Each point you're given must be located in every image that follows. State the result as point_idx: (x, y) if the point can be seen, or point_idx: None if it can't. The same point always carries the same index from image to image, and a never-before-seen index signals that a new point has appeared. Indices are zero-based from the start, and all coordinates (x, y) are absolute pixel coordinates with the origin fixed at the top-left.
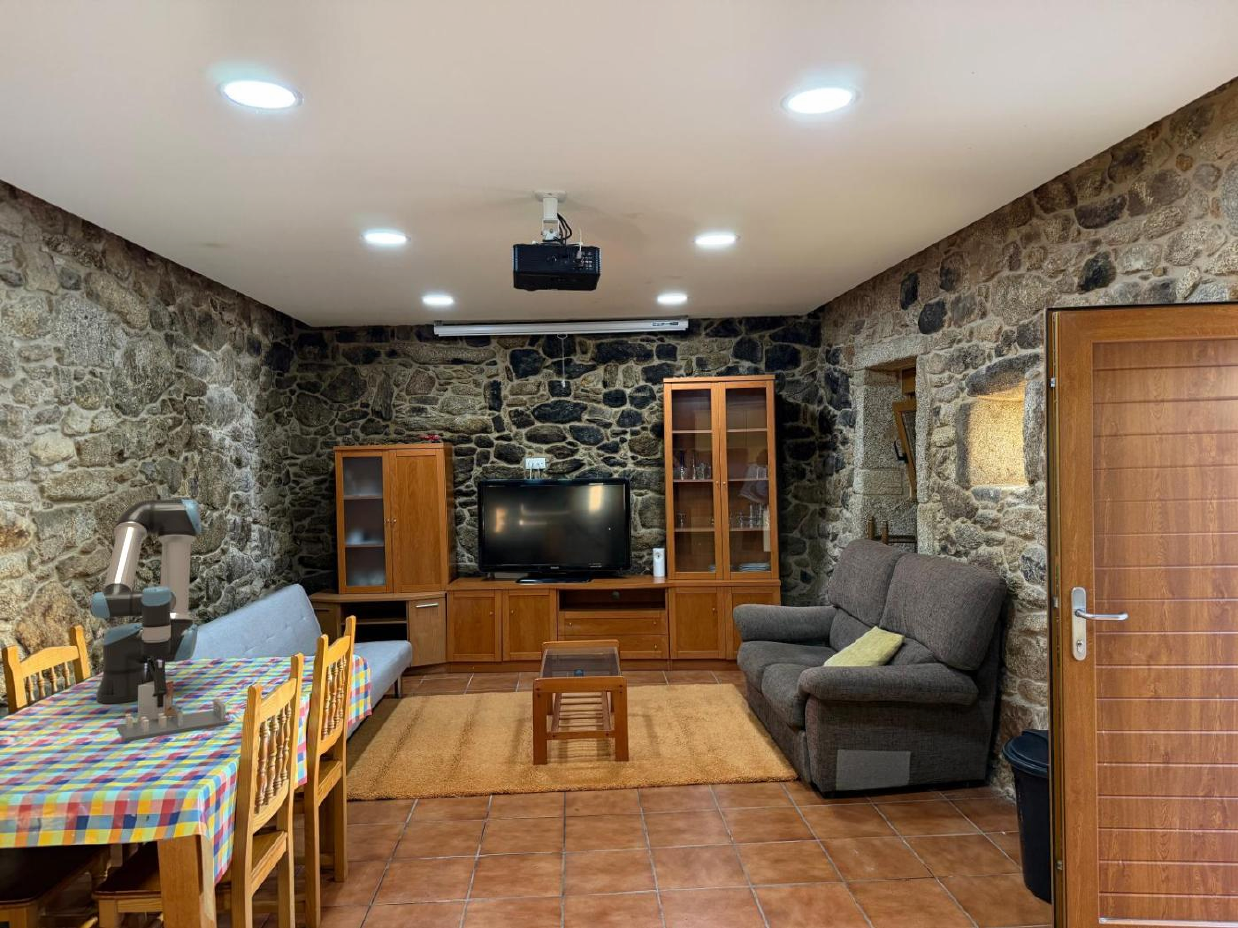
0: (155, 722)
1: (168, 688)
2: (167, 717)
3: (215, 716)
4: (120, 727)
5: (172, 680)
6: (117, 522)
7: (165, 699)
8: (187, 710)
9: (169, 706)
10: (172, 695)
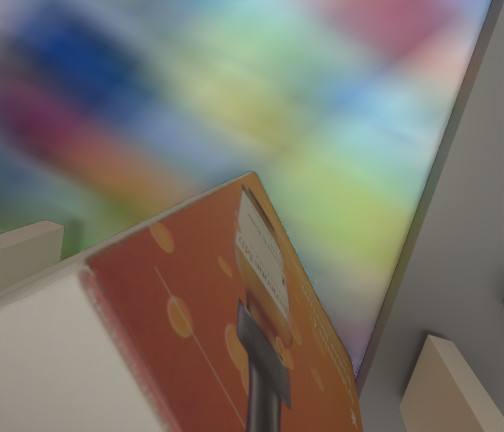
0: None
1: (235, 343)
2: (406, 292)
3: None
4: None
5: (88, 287)
6: None
7: (290, 323)
8: (203, 10)
9: (265, 226)
10: (217, 203)
